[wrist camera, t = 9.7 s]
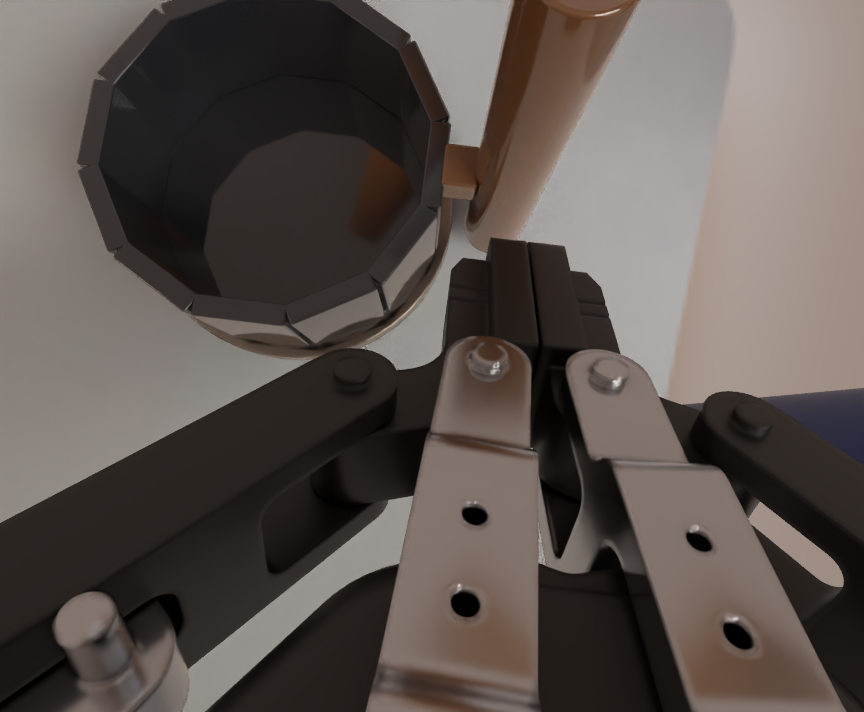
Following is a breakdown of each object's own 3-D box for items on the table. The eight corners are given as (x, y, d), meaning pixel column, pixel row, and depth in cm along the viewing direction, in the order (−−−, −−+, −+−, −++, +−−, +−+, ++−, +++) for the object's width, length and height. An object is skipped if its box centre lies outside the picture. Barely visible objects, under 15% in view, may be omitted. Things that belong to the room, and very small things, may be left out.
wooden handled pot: (131, 327, 20) (-294, 177, 8) (181, 55, 22) (-125, -424, 9) (505, 372, 20) (629, 289, 8) (533, 99, 22) (678, -323, 9)
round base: (467, 93, 22) (468, 80, 22) (433, 377, 21) (433, 375, 20) (181, 58, 22) (172, 44, 22) (129, 340, 21) (118, 337, 20)
